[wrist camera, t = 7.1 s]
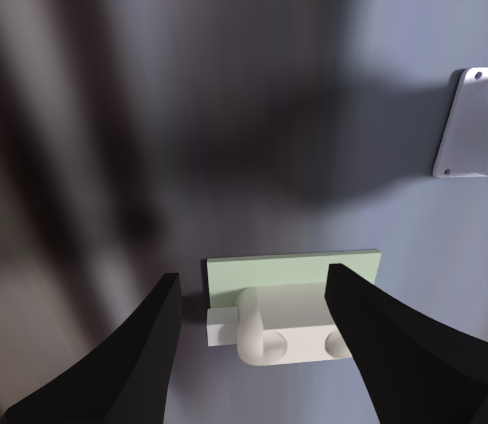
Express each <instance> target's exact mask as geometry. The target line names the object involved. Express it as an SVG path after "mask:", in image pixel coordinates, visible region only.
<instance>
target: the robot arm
mask: <svg viewBox="0 0 488 424" xmlns="http://www.w3.org/2000/svg"><path fill="white" fill-rule="evenodd" d="M476 73H477V77H476V78H475V74H476ZM445 170H447V171H446V173H444V172H445ZM433 176H434V177H437V178H457V177H486V176H488V68H468V69H466V70H465V71H464V72H463V73H462V75H461V78H460V81H459V85H458V88H457V91H456V95H455V98H454V102H453V105H452V108H451V112H450V115H449V118H448V122H447V125H446V129H445V132H444V135H443V139H442V142H441V145H440V149H439V152H438V155H437V159H436V162H435V166H434V169H433ZM324 298H325V301H326V304H327V307H328V309H329V312H330V314H331V317H332V319H333V321H334V323H335V325H336V327H337V328H338V330H339V332H340V334H341V336H342V338H343V340H344V342H345V344H346V345H347V347H348V349H349V351H350V353H351V355H352V357H353V359H354V361H355V363H356V365H357V367H358V369H359V371H360V374H361V376H362V378H363V381H364V383H365V386H366V388H367V390H368V393H369V395H370V398H371V401H372V403H373V406H374V408H375V411H376V413H377V416H378V419H379V421H380V424H488V342H486V341H483V340H481V339H478V338H475V337H473V336H470V335H468V334H465V333H463V332H461V331H458V330H456V329H454V328H451V327H449V326H447V325H445V324H443V323H440V322H438V321H436V320H434V319H432V318H430V317H428V316H426V315H424V314H422V313H420V312H418V311H416V310H414V309H412V308H411V307H409V306H407V305H405V304H403V303H402V302H400V301H398V300H397V299H395V298H393V297H392V296H390V295H389V294H387V293H385V292H384V291H382V290H381V289H379V288H378V287H376V286H375V285H373V284H372V283H370V282H369V281H367V280H366V279H364V278H363V277H361V276H360V275H359V274H357V273H356V272H354V271H353V270H351V269H350V268H348V267H347V266H345V265H344V264H342V263H333V264H329V268H328V274H327V281H326V287H325V294H324ZM182 312H183V302H182V295H181V288H180V280H179V273H165V274H164V275H163V276H162V278H161V279H160V280H159V282H158V283H157V284H156V285H155V287H154V288H153V289H152V291H151V292H150V293H149V294H148V295H147V297H146V298H145V299H144V300H143V301H142V303H141V304H140V305H139V306H138V307H137V308H136V310H135V311H134V312H133V313H132V314H131V315H130V316H129V317H128V318H127V319H126V320H125V321H124V322H123V323H122V324H121V325H120V326H119V327H118V328H117V329H116V330H115V331H114V332H113V333H112V334H111V335H110V336H109V337H108V338H107V339H106V340H104V341H103V342H102V343H101V344H100V345H98V346H97V347H96V348H95V349H94V350H92V351H91V352H90V353H89V354H87V355H86V356H85V357H84V358H82V359H81V360H80V361H79V362H77V363H76V364H75V365H73V366H72V367H70V368H69V369H68V370H66V371H65V372H64V373H62V374H61V375H59V376H58V377H56V378H55V379H53V380H52V381H51V382H49V383H48V384H46V385H45V386H43V387H41V388H40V389H38V390H37V391H35V392H33V393H32V394H30V395H29V396H27V397H25V398H24V399H22V400H21V401H19V402H18V403H16V404H14V405H13V406H11V407H9V408H8V409H7V410H6V412H5V413H4V415H3V416H2V417H1V419H0V424H163V420H164V412H165V404H166V397H167V389H168V384H169V378H170V374H171V369H172V365H173V360H174V356H175V352H176V347H177V343H178V338H179V334H180V329H181V322H182Z"/></svg>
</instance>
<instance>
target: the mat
mask: <svg viewBox="0 0 488 424" xmlns="http://www.w3.org/2000/svg"><path fill="white" fill-rule="evenodd" d="M380 257H381V252H380V251H379V250H378V249H374V250H356V251H338V252H320V253H302V254H284V255H265V256H247V257H229V258H211V259H207V268H208V281H209V293H210V306H211V309H213V308H228V307H234V302H235V299H236V297H237V295H238V294H239V293H240V292H241V291H243V290H244V289H246V288H249V287H253V286H267V285H283V284H299V283H314V282H326V281H327V274H328V268H329V264H333V263H342V264H344V265H345V266H347V267H348V268H350V269H351V270H353V271H354V272H356V273H357V274H359V275H360V276H361V277H363V278H364V279H366V280H367V281H369V282H370V283H372V284H373V285H374V281H375V277H376V273H377V269H378V265H379V261H380Z"/></svg>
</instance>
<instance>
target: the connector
mask: <svg viewBox="0 0 488 424" xmlns="http://www.w3.org/2000/svg"><path fill="white" fill-rule="evenodd" d="M325 287H326V282H314V283H299V284H283V285H267V286H253V287H249V288H246V289H244V290H243V291H241V292H240V293H239V294H238V295H237V297H236V299H235V302H234V307H228V308H213V309H208V312H207V333H208V345H209V346H216V345H228V344H237V348H238V355H239V357H240V358H241V359H242V360H243V361H244V362H246V363H248V364H250V365H255V366H264V365H275V364H287V363H298V362H309V361H320V360H332V359H343V358H350V357H352V355H351V353H350V351H349V349H348V347H347V345H346V344H345V342H344V340H343V338H342V336H341V334H340V332H339V330H338V328H337V327H336V325H335V323H334V321H333V319H332V317H331V314H330V312H329V309H328V307H327V304H326V301H325V298H324V294H325Z"/></svg>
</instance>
